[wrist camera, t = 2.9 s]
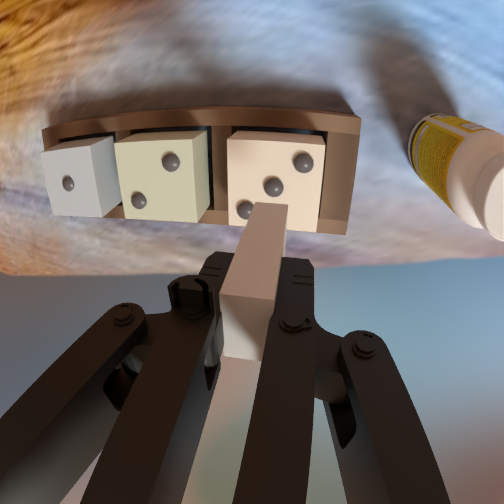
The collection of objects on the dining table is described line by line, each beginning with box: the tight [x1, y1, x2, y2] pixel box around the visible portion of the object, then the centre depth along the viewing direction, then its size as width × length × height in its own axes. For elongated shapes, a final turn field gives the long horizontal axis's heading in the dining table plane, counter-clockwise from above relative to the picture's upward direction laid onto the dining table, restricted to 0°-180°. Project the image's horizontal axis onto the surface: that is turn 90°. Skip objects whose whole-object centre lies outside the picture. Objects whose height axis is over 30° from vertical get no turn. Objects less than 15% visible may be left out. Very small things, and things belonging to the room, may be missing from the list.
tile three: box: [227, 131, 325, 232], centre depth 20 cm, size 6×6×3 cm
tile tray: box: [42, 106, 361, 235], centre depth 23 cm, size 27×9×2 cm, turn 89°
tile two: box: [114, 131, 210, 223], centre depth 21 cm, size 6×6×3 cm
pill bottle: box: [408, 113, 504, 241], centre depth 15 cm, size 6×6×11 cm
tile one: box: [40, 136, 122, 217], centre depth 22 cm, size 6×6×3 cm
